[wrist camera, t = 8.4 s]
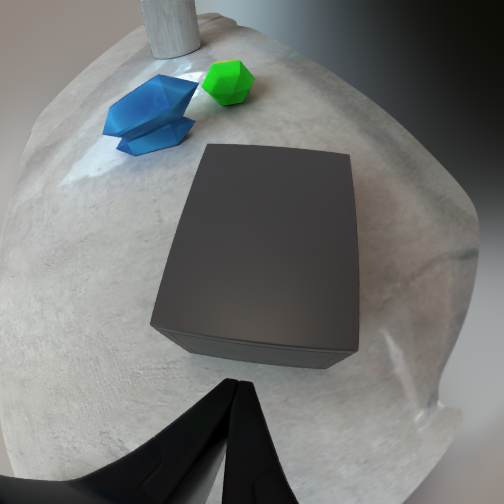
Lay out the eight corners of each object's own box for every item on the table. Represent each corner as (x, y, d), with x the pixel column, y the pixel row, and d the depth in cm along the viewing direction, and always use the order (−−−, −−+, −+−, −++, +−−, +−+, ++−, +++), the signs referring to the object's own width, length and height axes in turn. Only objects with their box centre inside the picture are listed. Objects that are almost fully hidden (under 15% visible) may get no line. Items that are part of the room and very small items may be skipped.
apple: (231, 59, 25) (220, 37, 30) (192, 98, 29) (188, 69, 33) (274, 93, 30) (256, 65, 35) (237, 126, 34) (225, 93, 38)
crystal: (90, 100, 25) (184, 48, 23) (127, 147, 32) (213, 105, 31) (77, 137, 21) (191, 72, 20) (125, 187, 29) (224, 140, 27)
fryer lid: (208, 150, 19) (206, 143, 18) (347, 161, 18) (349, 154, 17) (154, 329, 13) (148, 325, 12) (354, 354, 12) (358, 351, 11)
